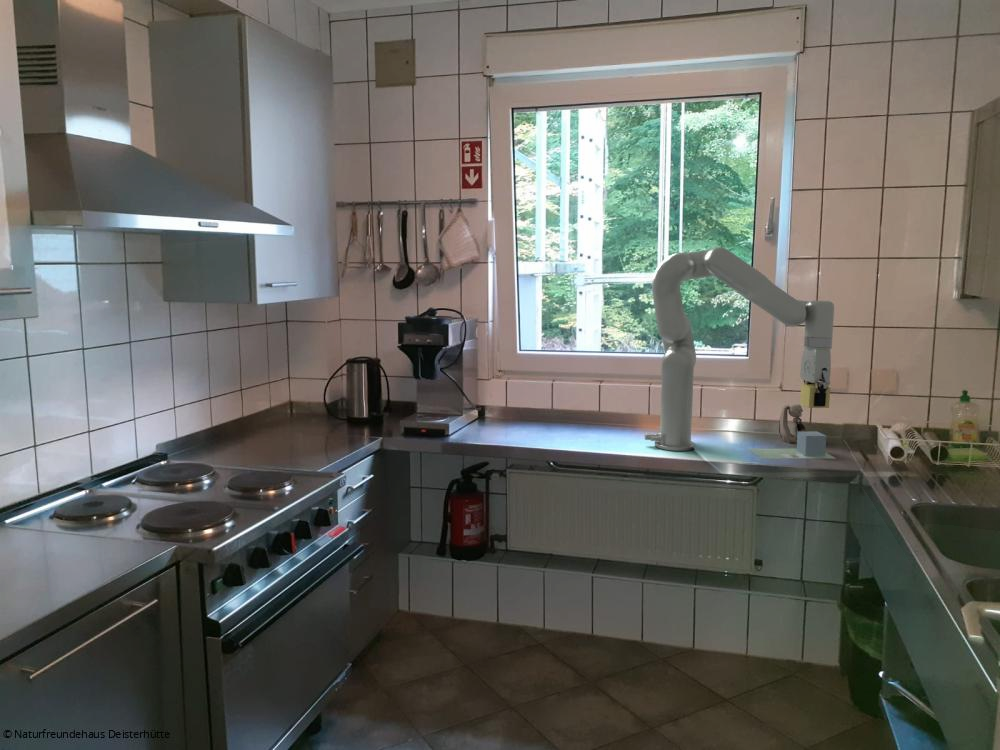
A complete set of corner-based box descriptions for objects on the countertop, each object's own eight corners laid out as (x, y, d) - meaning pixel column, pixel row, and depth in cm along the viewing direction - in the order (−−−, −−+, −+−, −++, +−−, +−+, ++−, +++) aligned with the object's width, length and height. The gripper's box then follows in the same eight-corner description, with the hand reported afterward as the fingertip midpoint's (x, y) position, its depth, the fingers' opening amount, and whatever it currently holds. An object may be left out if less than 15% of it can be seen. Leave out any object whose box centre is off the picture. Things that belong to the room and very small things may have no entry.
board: (761, 462, 224) (762, 458, 224) (746, 452, 236) (747, 448, 236) (836, 462, 225) (836, 457, 225) (817, 452, 237) (817, 447, 237)
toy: (814, 446, 242) (801, 400, 241) (786, 452, 244) (774, 407, 243) (808, 439, 251) (796, 395, 250) (782, 446, 253) (770, 402, 252)
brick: (808, 407, 225) (810, 387, 224) (799, 404, 231) (801, 384, 230) (829, 407, 226) (830, 387, 225) (819, 404, 232) (820, 384, 231)
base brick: (805, 455, 227) (806, 435, 227) (796, 450, 233) (797, 431, 232) (825, 455, 228) (826, 435, 227) (815, 450, 234) (817, 431, 233)
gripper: (792, 340, 234) (789, 399, 237) (818, 346, 217) (815, 409, 220) (817, 340, 234) (813, 398, 237) (845, 346, 217) (840, 409, 220)
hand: (814, 403), depth 228 cm, fingers closed on brick, 6 cm apart
